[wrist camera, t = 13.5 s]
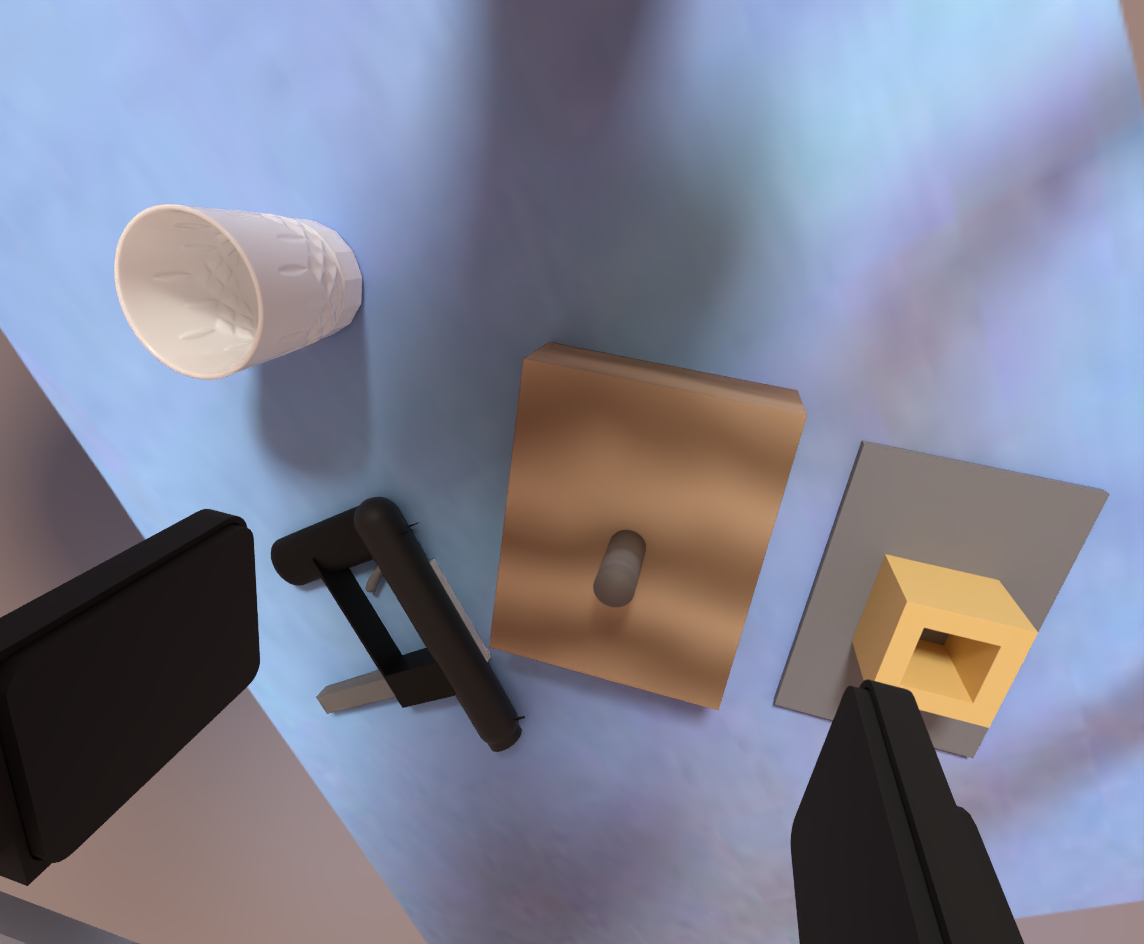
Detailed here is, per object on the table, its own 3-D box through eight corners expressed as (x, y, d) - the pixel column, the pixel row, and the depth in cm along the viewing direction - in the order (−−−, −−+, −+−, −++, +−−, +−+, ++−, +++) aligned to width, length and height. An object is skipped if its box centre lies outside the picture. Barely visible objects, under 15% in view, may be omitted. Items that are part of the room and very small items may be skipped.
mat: (862, 440, 35) (864, 444, 35) (1103, 489, 33) (1109, 494, 33) (774, 698, 42) (774, 704, 41) (969, 750, 40) (973, 758, 40)
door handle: (359, 779, 51) (529, 748, 44) (217, 566, 46) (382, 497, 40) (382, 748, 54) (544, 714, 47) (250, 544, 49) (410, 476, 43)
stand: (548, 342, 37) (493, 377, 28) (797, 390, 35) (818, 445, 26) (514, 603, 44) (461, 696, 35) (719, 657, 42) (716, 770, 33)
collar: (885, 554, 36) (907, 601, 32) (998, 580, 35) (1038, 632, 31) (852, 640, 39) (868, 696, 34) (957, 667, 38) (989, 728, 33)
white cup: (391, 328, 39) (288, 359, 30) (286, 357, 41) (160, 395, 32) (344, 191, 37) (216, 180, 28) (235, 230, 39) (85, 232, 30)
